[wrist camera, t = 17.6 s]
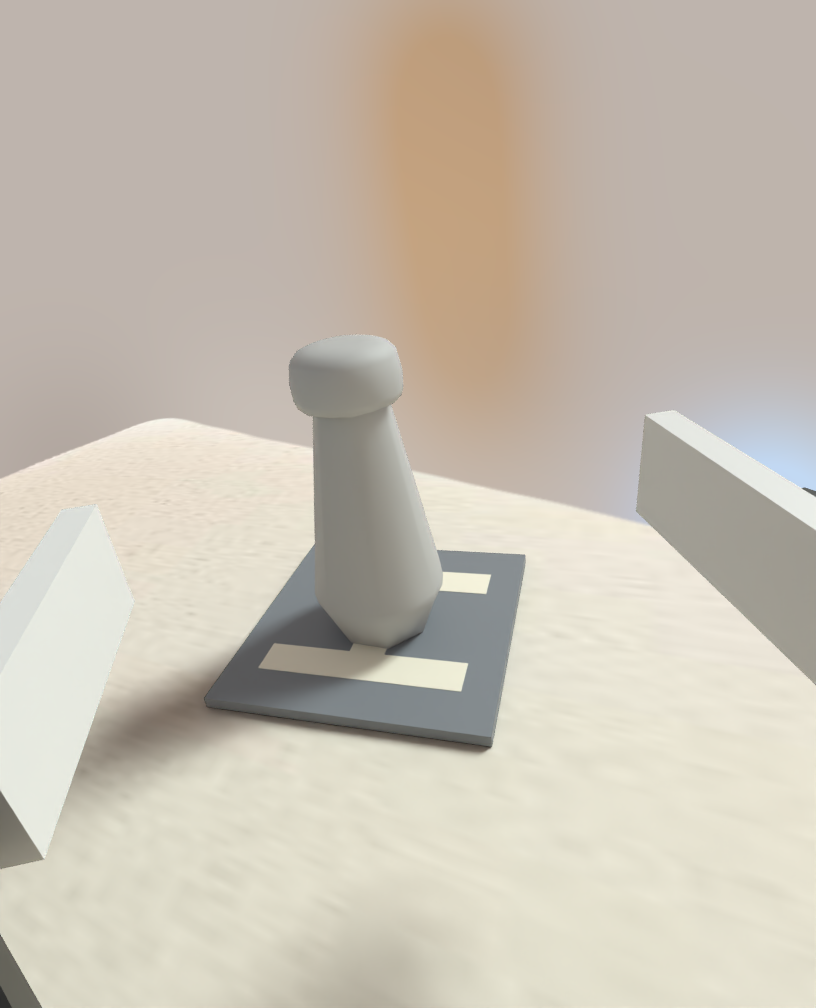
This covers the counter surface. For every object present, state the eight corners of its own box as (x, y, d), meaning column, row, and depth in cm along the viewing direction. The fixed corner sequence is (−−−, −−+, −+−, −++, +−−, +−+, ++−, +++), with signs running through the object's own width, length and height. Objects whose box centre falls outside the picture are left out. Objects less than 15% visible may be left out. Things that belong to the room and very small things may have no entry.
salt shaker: (325, 591, 32) (270, 334, 26) (436, 574, 32) (409, 315, 26) (323, 671, 26) (254, 373, 20) (456, 651, 27) (427, 350, 21)
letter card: (207, 707, 26) (203, 697, 26) (316, 551, 36) (314, 543, 36) (492, 746, 23) (491, 736, 23) (525, 563, 33) (525, 554, 33)
